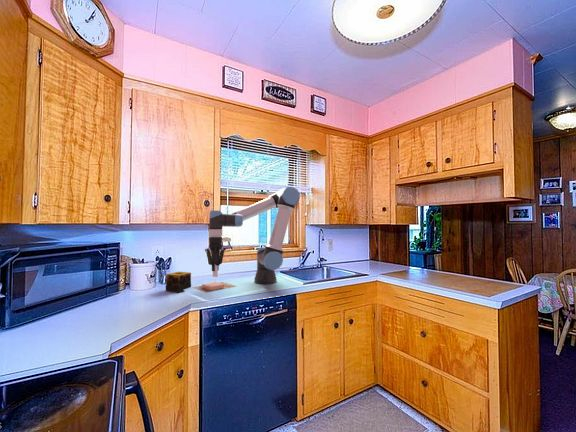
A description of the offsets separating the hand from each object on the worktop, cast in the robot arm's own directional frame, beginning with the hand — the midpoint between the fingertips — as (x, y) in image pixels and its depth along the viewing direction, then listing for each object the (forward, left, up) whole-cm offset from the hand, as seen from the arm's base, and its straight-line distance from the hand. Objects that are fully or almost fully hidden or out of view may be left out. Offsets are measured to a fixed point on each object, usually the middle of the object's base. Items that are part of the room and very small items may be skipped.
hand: (215, 276), depth 156 cm
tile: (-3, 0, -5) cm, 6 cm away
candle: (+15, -14, -8) cm, 22 cm away
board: (-2, -2, -8) cm, 8 cm away
